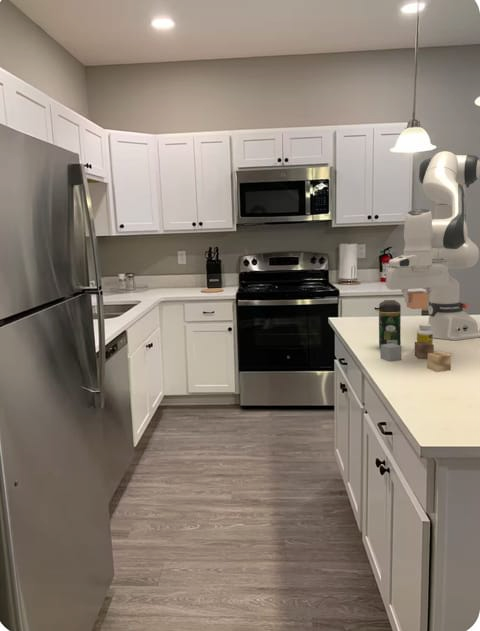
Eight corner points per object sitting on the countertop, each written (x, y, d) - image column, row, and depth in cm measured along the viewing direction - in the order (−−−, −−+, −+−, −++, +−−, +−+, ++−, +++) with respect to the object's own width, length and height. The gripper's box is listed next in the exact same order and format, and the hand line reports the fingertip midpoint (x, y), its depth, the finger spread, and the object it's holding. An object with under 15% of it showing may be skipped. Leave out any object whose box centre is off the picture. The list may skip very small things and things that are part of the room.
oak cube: (440, 366, 160) (440, 351, 159) (450, 370, 155) (451, 355, 154) (427, 368, 159) (427, 353, 158) (437, 372, 154) (437, 356, 153)
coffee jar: (378, 345, 191) (378, 298, 188) (399, 345, 189) (400, 298, 185) (378, 351, 182) (378, 302, 178) (400, 352, 180) (401, 302, 176)
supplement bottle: (430, 353, 176) (431, 326, 175) (415, 351, 179) (415, 325, 178) (433, 349, 181) (434, 323, 179) (418, 348, 184) (419, 322, 182)
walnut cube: (428, 355, 174) (429, 341, 173) (433, 358, 169) (433, 344, 168) (414, 355, 175) (414, 341, 174) (418, 359, 170) (419, 345, 169)
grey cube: (392, 356, 174) (392, 343, 173) (401, 360, 170) (401, 346, 169) (380, 358, 173) (380, 344, 172) (389, 361, 168) (389, 347, 167)
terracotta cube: (420, 305, 164) (421, 291, 163) (427, 308, 159) (428, 293, 158) (406, 306, 164) (406, 292, 163) (412, 309, 159) (413, 294, 158)
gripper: (443, 257, 162) (442, 298, 165) (384, 261, 161) (384, 302, 163) (453, 258, 156) (452, 301, 159) (391, 262, 155) (391, 304, 157)
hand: (417, 301), depth 161 cm, fingers closed on terracotta cube, 5 cm apart
